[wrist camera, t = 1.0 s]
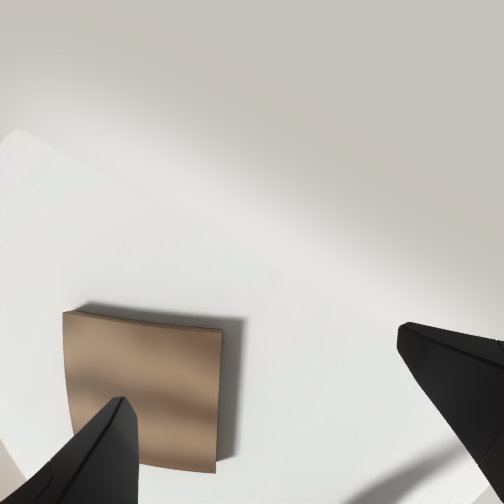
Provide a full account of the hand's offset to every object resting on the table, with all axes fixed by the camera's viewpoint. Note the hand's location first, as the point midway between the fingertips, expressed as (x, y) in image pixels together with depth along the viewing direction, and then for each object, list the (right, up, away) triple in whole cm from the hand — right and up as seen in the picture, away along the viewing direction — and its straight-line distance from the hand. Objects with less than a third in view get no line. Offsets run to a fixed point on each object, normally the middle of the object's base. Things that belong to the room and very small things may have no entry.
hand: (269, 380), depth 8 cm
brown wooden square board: (-10, -9, +14) cm, 20 cm away
